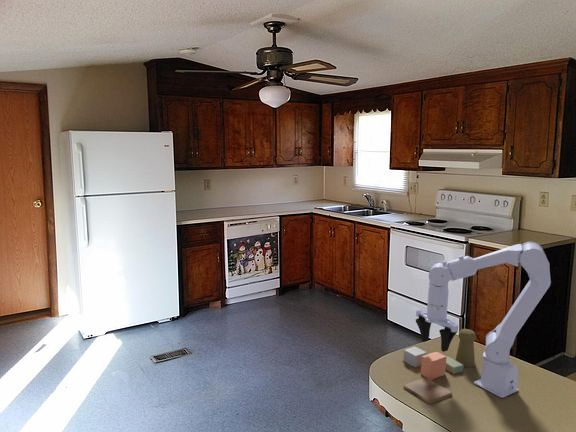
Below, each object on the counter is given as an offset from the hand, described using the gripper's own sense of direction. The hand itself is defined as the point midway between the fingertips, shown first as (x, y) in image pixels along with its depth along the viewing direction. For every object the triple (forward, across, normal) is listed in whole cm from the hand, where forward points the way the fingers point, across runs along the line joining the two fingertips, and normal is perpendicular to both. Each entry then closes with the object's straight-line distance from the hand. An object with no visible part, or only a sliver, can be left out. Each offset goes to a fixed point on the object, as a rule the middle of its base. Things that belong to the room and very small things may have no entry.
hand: (434, 345), depth 144 cm
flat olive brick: (+10, 0, +8) cm, 13 cm away
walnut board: (+9, +6, -9) cm, 14 cm away
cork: (+10, 0, +15) cm, 18 cm away
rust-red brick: (+10, 0, 0) cm, 10 cm away
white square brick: (+10, -8, +1) cm, 13 cm away
